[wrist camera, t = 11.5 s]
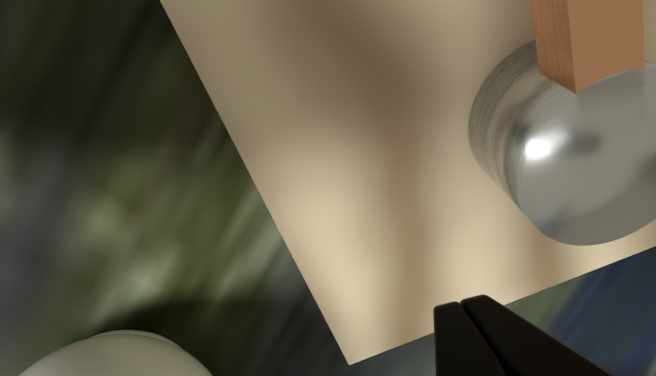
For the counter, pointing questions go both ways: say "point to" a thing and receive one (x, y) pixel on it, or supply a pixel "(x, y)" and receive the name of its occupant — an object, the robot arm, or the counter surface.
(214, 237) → the counter surface
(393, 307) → the coupling base
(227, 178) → the counter surface
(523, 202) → the handle
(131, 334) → the lidded jar
